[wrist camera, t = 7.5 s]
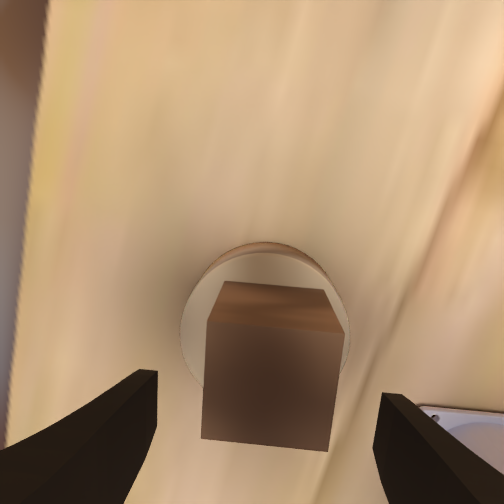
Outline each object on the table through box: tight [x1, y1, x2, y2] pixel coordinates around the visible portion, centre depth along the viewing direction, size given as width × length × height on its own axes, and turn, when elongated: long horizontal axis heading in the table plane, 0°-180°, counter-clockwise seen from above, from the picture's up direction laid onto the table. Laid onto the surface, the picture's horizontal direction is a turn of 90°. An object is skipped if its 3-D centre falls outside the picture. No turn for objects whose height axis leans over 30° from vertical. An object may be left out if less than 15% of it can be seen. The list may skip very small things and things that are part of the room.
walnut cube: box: [201, 281, 345, 452], centre depth 14 cm, size 4×4×4 cm
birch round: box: [180, 242, 350, 387], centre depth 18 cm, size 8×8×4 cm
